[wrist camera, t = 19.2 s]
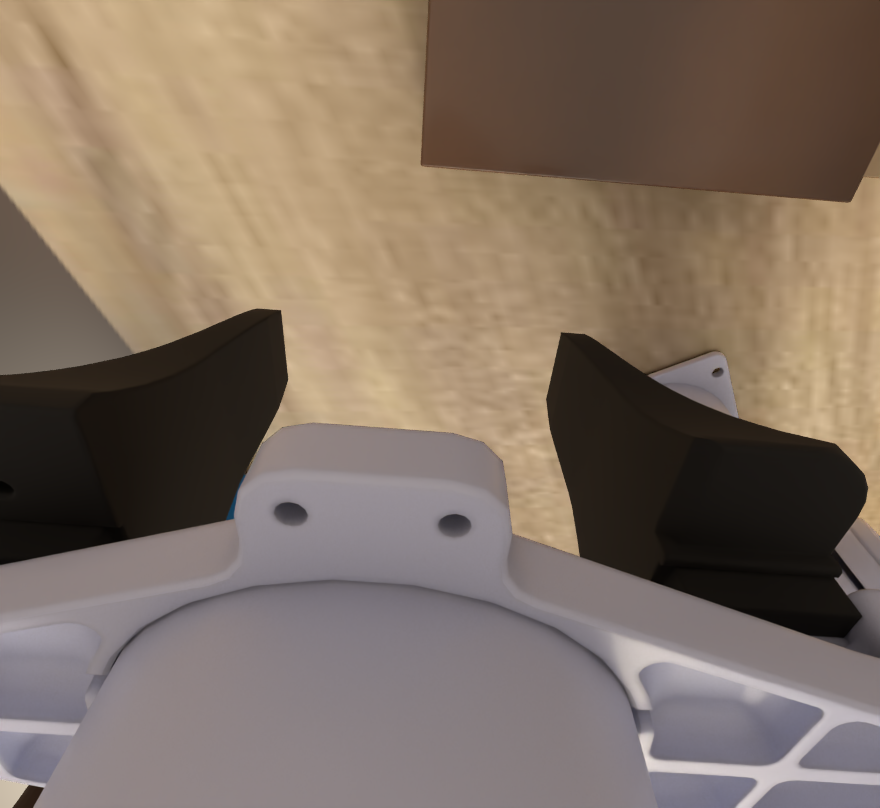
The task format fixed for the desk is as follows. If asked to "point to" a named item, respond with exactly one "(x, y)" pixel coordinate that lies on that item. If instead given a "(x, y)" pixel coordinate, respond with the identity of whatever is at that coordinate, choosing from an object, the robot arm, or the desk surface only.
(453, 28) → the cabinet
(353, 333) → the desk surface
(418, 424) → the desk surface
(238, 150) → the desk surface
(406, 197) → the desk surface
